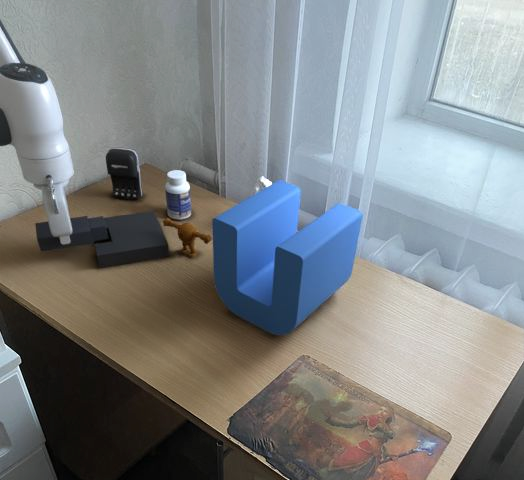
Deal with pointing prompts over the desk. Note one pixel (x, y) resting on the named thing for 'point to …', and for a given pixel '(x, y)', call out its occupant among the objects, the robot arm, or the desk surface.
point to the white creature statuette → (261, 184)
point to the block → (281, 257)
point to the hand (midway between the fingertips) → (64, 232)
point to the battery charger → (124, 173)
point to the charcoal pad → (81, 234)
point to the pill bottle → (178, 195)
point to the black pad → (132, 240)
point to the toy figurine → (187, 236)
